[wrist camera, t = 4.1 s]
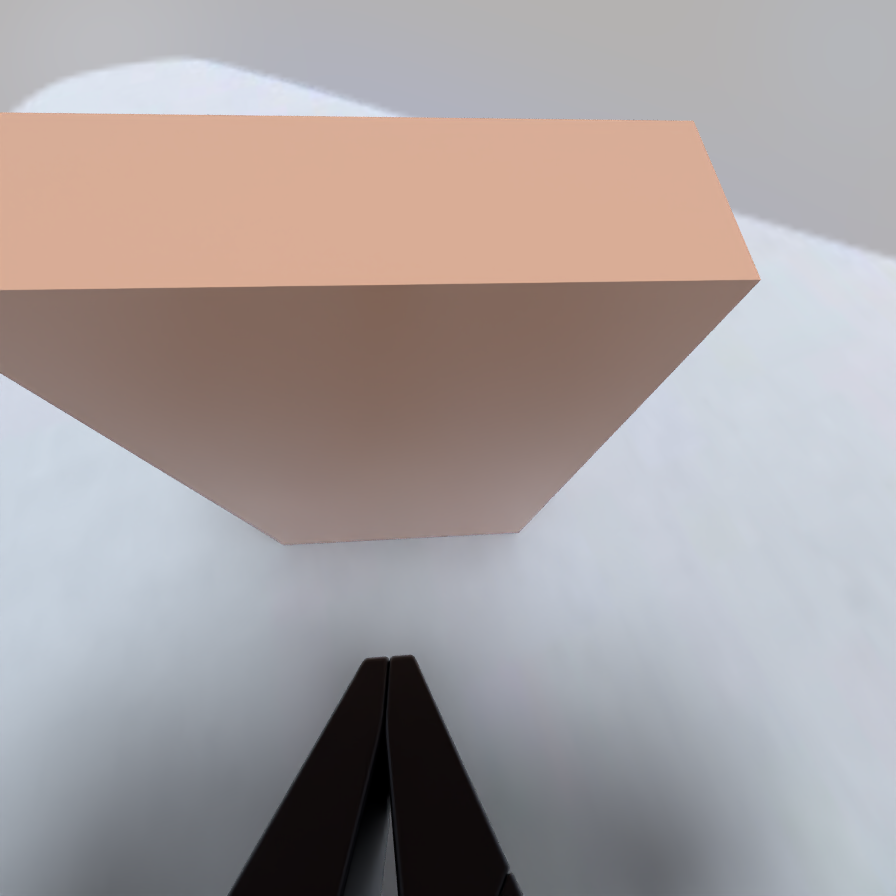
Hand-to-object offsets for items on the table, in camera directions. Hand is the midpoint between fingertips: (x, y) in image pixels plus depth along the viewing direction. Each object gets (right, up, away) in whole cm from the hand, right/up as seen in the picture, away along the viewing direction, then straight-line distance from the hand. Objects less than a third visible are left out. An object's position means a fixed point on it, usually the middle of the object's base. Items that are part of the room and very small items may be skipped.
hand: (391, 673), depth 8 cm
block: (-1, +2, +8) cm, 8 cm away
